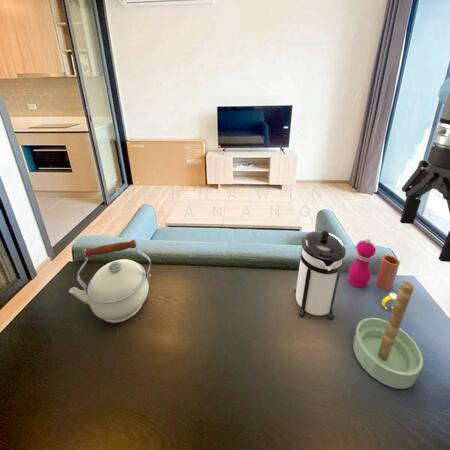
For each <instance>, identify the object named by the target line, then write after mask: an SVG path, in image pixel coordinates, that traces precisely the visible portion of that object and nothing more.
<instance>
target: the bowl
mask: <svg viewBox="0 0 450 450" xmlns="http://www.w3.org/2000/svg"><path fill="white" fill-rule="evenodd" d="M388 322H389V320H385V319H382V318H379V317H366V318H363V319H361V320H360V321H359V322H358V323H357V325H356V328H355V332H354V335H353V340H352V349H353V352H354V355H355V358H356V360H357V361H358V362H359V364H360V365H361V367H362V368H363V369H364V370H365V372H367V373H368V374H369V375H370V376H371V377H372V378H373V379H375V380H376V381H378V382H379V383H380V384H382V385H385V386H387V387H390V388H393V389H401V390H405V389H408V388H412V387H413V386H414V385H415V383H417V381H418V378H419V376H420V374H421V372H422V369H423V365H424V358H423V355H422V351H421V349H420V348H419V346H418V345H417V343H416V341H414V339H413V338H412V337H411V336H410V335H409V334H408V333H407V332H405V330H403V329H402V328H401V327H399V330H398V332H397V335H396V338H395V341H394V343H393V346H392V349H391V352H390V354H389V357H388V360H387V361H383V360H381V359H380V358H379V356H378V351H379V348H380V345H381V342H382V339H383V336H384V334H385V331H386V328H387V325H388Z"/></svg>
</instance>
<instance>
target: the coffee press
mask: <svg viewBox="0 0 450 450" xmlns="http://www.w3.org/2000/svg"><path fill="white" fill-rule="evenodd" d="M300 243H301V249H300V255H299V257H300V260H299V267H298V272H297V273H298V274H297V280H296V281H297V282H296V287H295V289H294V290H293V292H294V294H295V299H296V302H297V304H298V306H299V307H300V309H299V311H298V316H300V317H301V318H304V316H305V314H306V313H308V314H309V315H313V316H324V315H325V316H326V317H327V318H328V320H329V321H333V320H334V319H335V315H334V312H333V307H334V302H335V298H336V294H337V289H338V284H339V280H340V275H341V270H342V268H343V264H344V258H345V257H346V252H347V249H346V247H345V245H344V243H343V241H342V240H341V239H340V238H339V237H337V236H336V235H335V234H332V233H330V232H328V231H327V230H314V231H310V232H308V233H307V234H306V235H305V236H303V237H302V238H301V242H300Z"/></svg>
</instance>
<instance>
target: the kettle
mask: <svg viewBox="0 0 450 450" xmlns="http://www.w3.org/2000/svg"><path fill="white" fill-rule="evenodd" d="M127 249H135V252H136V253H138V255H140V256H142V257H143V258H145V259H146V260H147V261H148V262H149V266H148V269H147V272H146V269H145V267H144V266H143V265H142V264H141V263H138V262H137V261H134V260H132V259H125V258H123V259H122V258H121V259H116V260H112V261H111V262H108V263H106V264H105V265H103V266H101V267H100V268H99V269H98V270H97V271H96V273H95V274H94V275H93V277H92V278H91V279H90V281H89V282H88V285H86V283H85V282H84V281H83V279H81V277H80V274H81V271H83V269H84V267H85V266H86V265H87V263H88V260H89V258H90V257H91V256H94V255H105V254H110V253H115V252H121V251H124V250H127ZM83 254H84V257H85V261H84V262H83V264H82V265H81V267H80V268H79V270H78V272H77V275H76V279H77V282H78V284H79V285H80V286H81V287H82V288H83V290H82V289H79V288H78V287H74V286H73V287H71V288H70V289H69V290H68V293H70V294H71V295H73V296H74V297H75V298H76V299H78V300H80V301H81V302H83V303H84V304H87V305H89V307H90V310H91V311H92V313H93V314H94V315H95V316H96V317H97V318H98V319H101V320H103V321H105V322H107V323H113V324H114V323H116V324H117V323H122V322H124V321H127V320H129V319H131V318H132V317H134V316H135V315H136V314H137V313H138V312H139V311H140V309H141V308H142V306H143V304H144V303H145V302H146V299H147V296H148V293H149V288H150V287H149V279H150V278H151V276H152V275H151V274H150V271H151V268H152V261H151V258H150V257H149V256H148V255H147V254H146V253H144V252H142V251H141V250H140V249H139V248H138V241H137V240H136V239H132V240H130V241H120V242H116V243H110V244H103V245H99V246H96V247H92V248H91V247H87V248H84V251H83Z"/></svg>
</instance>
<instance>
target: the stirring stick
mask: <svg viewBox="0 0 450 450" xmlns="http://www.w3.org/2000/svg"><path fill="white" fill-rule="evenodd" d="M414 288H415V287H414V285H413V284H412V283H411V282H409V281H406V280H403V281H401V284H400V286H399V289H398V293H397V298H396V301H394V304H393V306H392V307H393V309H392V310H391V313H390V316H389V319H388V325H387V328H386V331H385V334H384V336H383V339H382V342H381V345H380V348H379V351H378V356H379V358H380V359H381V360H383V361H387V360H388V357H389V354H390V352H391V349H392V346H393V343H394V341H395V338H396V335H397V332H398V330H399V328H401V324H402V321H403V319H404V316H405V313H406V310H407V307H408V305H409V302H410V300H411V297H412V294H413V292H414Z"/></svg>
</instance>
